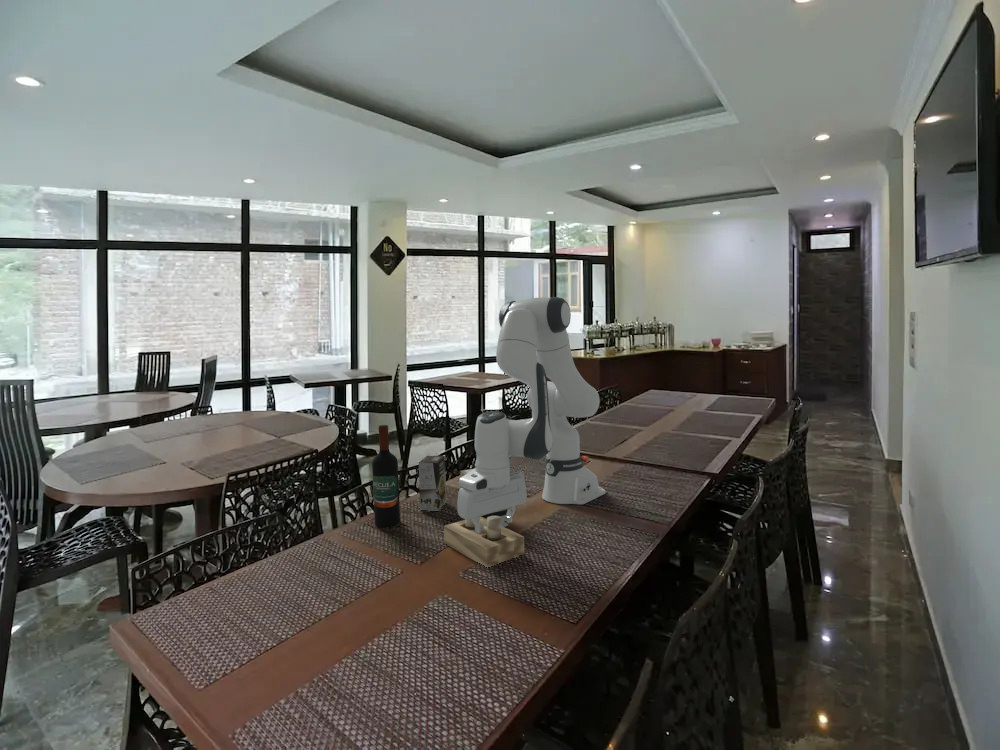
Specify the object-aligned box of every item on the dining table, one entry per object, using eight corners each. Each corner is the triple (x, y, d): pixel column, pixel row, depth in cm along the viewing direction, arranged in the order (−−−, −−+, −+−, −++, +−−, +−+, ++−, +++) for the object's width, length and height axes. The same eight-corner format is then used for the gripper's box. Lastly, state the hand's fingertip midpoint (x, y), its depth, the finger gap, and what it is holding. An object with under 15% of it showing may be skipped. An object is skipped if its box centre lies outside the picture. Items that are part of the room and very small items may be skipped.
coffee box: (438, 512, 185) (437, 462, 183) (419, 511, 186) (417, 462, 184) (447, 502, 194) (445, 455, 192) (428, 501, 195) (426, 454, 193)
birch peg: (496, 550, 155) (495, 514, 154) (504, 555, 152) (503, 518, 151) (485, 554, 153) (484, 518, 152) (493, 559, 150) (492, 521, 149)
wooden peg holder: (479, 532, 168) (478, 498, 167) (524, 554, 152) (523, 518, 151) (444, 543, 161) (443, 508, 160) (487, 568, 145) (486, 529, 144)
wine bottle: (404, 519, 179) (400, 423, 175) (392, 529, 172) (388, 429, 168) (383, 517, 181) (378, 422, 178) (370, 526, 174) (365, 427, 171)
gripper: (516, 465, 159) (517, 514, 160) (453, 480, 146) (454, 533, 148) (531, 470, 154) (532, 520, 156) (467, 486, 141) (469, 541, 143)
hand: (494, 527), depth 152 cm, fingers open, 8 cm apart
